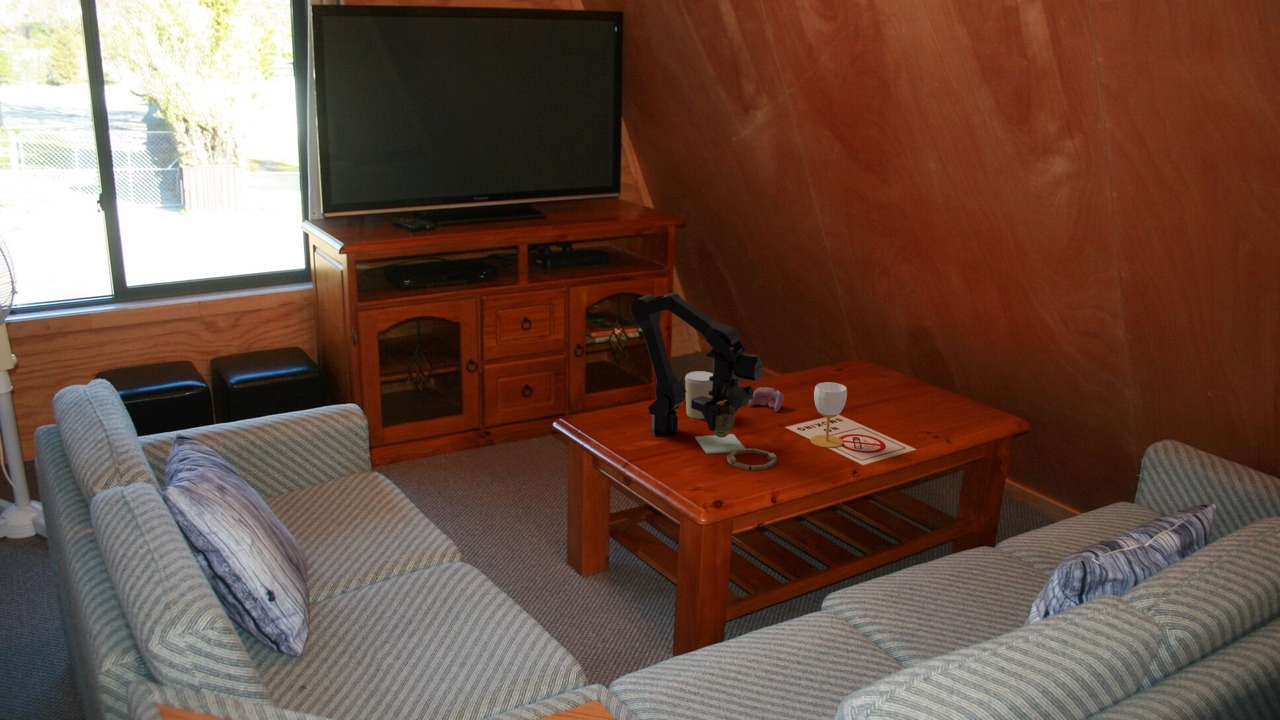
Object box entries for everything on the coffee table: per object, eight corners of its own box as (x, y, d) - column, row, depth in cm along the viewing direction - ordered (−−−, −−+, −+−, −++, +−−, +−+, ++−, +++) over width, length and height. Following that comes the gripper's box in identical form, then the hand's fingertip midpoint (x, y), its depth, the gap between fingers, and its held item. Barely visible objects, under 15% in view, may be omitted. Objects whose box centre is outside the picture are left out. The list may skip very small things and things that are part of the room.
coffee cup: (708, 407, 315) (709, 369, 311) (720, 418, 306) (722, 379, 303) (679, 410, 312) (680, 372, 308) (690, 421, 303) (691, 382, 300)
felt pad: (706, 453, 280) (706, 451, 280) (695, 438, 291) (695, 436, 290) (745, 450, 283) (745, 448, 283) (733, 436, 293) (733, 434, 293)
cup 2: (835, 434, 296) (840, 381, 291) (848, 446, 287) (853, 391, 282) (805, 436, 294) (809, 382, 289) (817, 448, 285) (821, 393, 280)
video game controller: (782, 414, 315) (787, 392, 316) (776, 412, 311) (782, 389, 312) (752, 407, 320) (758, 385, 321) (746, 405, 316) (752, 383, 317)
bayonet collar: (735, 471, 269) (736, 467, 269) (721, 453, 281) (721, 448, 281) (782, 467, 272) (783, 463, 272) (766, 449, 284) (766, 445, 283)
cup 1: (703, 437, 284) (704, 410, 282) (714, 428, 290) (715, 401, 288) (728, 442, 281) (730, 415, 278) (739, 433, 287) (740, 406, 285)
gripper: (721, 389, 269) (718, 445, 274) (769, 374, 281) (765, 428, 286) (690, 378, 277) (688, 433, 281) (738, 364, 289) (735, 417, 293)
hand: (720, 428), depth 285 cm, fingers closed on cup 1, 6 cm apart
